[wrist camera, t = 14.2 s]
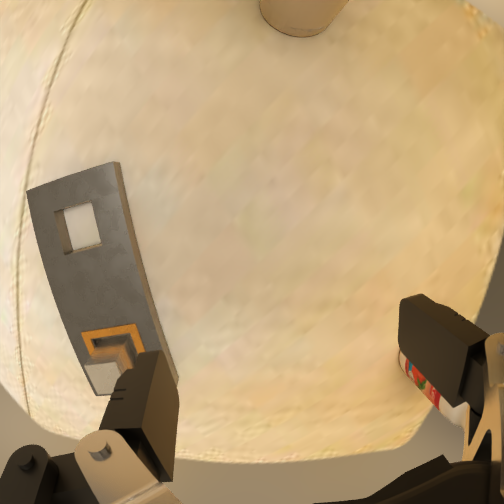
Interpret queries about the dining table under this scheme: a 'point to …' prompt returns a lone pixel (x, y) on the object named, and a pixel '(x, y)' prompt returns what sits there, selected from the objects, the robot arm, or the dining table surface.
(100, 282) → the grey board with holes
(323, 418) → the dining table surface
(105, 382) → the grey square peg
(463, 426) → the fruit juice
